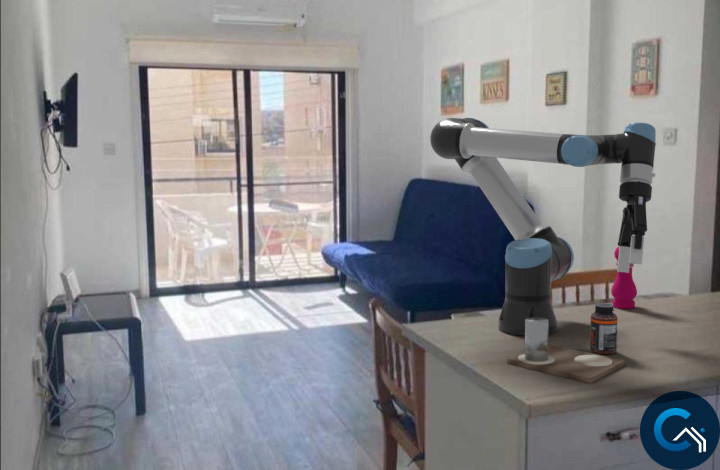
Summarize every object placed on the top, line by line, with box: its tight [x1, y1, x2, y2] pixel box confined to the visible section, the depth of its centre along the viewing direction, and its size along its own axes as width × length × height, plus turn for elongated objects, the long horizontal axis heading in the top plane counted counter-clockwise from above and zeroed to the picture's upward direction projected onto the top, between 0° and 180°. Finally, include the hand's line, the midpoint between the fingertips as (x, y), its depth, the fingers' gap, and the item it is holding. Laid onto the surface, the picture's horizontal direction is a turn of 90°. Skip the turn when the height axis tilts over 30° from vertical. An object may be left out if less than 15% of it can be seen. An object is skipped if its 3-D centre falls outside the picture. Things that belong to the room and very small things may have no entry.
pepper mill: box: [610, 246, 638, 310], centre depth 207 cm, size 7×7×20 cm
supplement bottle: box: [589, 302, 618, 356], centre depth 164 cm, size 6×6×11 cm
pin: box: [524, 317, 549, 362], centre depth 156 cm, size 5×5×9 cm
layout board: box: [506, 343, 626, 384], centre depth 156 cm, size 20×16×1 cm
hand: (629, 268), depth 171 cm, fingers open, 13 cm apart
